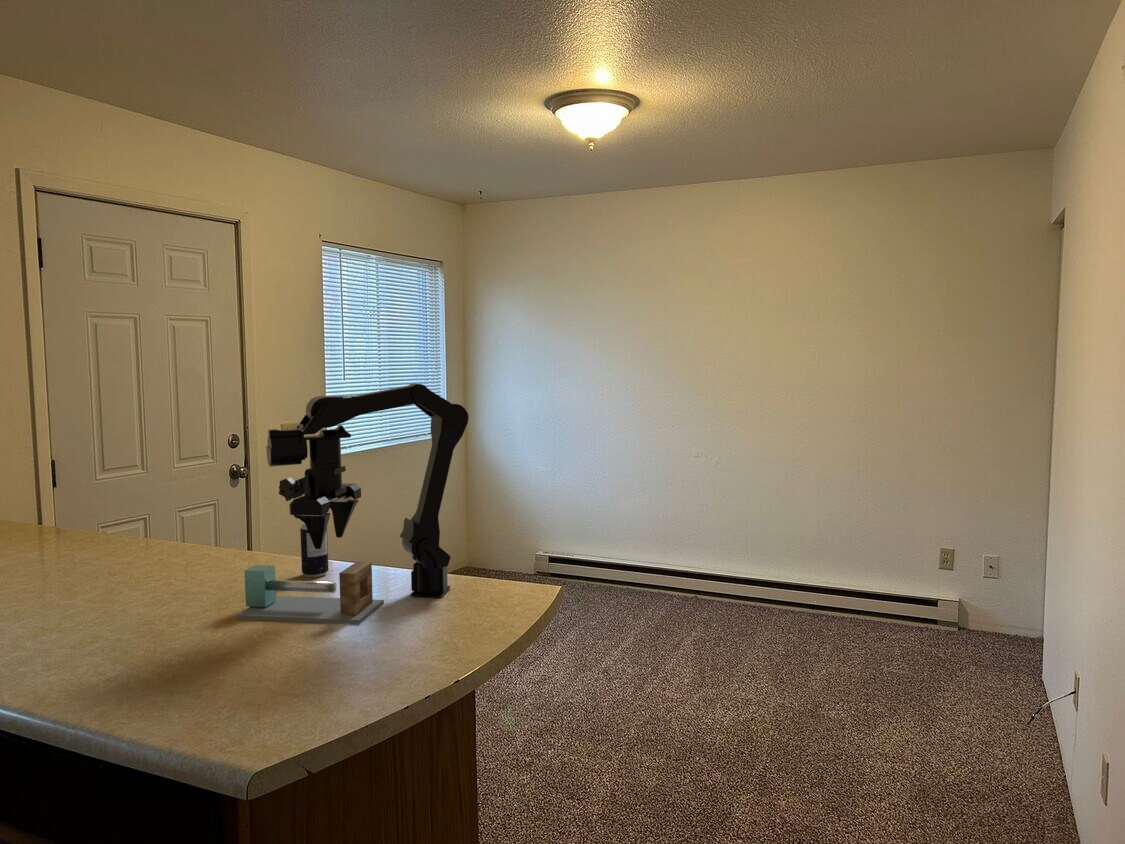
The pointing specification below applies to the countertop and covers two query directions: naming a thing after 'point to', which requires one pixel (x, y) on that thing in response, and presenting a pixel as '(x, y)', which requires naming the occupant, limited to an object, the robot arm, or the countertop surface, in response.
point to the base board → (307, 610)
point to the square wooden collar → (355, 588)
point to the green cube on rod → (276, 586)
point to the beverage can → (313, 555)
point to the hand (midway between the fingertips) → (329, 542)
